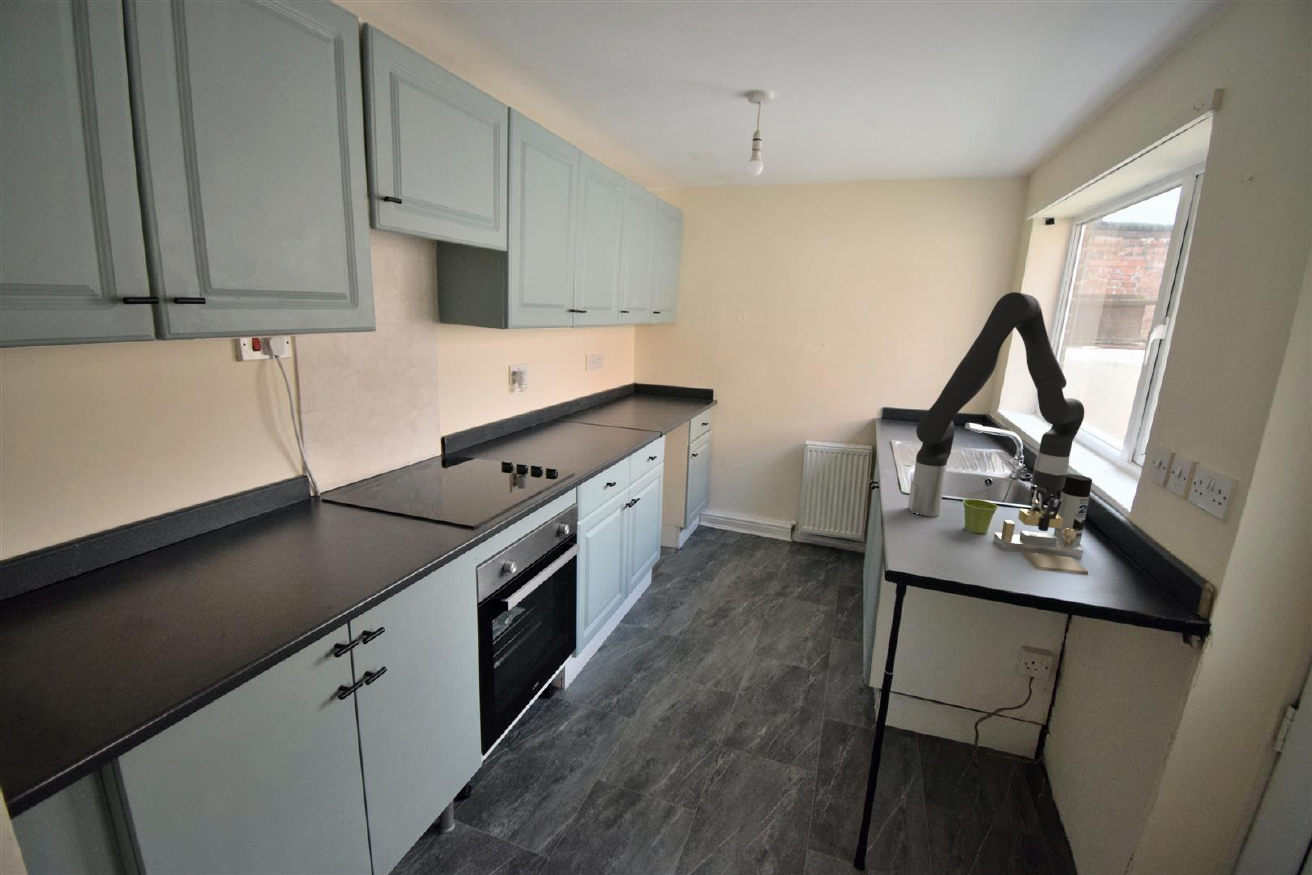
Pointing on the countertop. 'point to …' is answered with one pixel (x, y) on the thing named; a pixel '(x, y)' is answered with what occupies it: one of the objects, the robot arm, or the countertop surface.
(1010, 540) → the plane body
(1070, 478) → the spray can
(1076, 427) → the robot arm
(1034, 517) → the lever cap
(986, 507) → the plant pot
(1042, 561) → the cork mat
